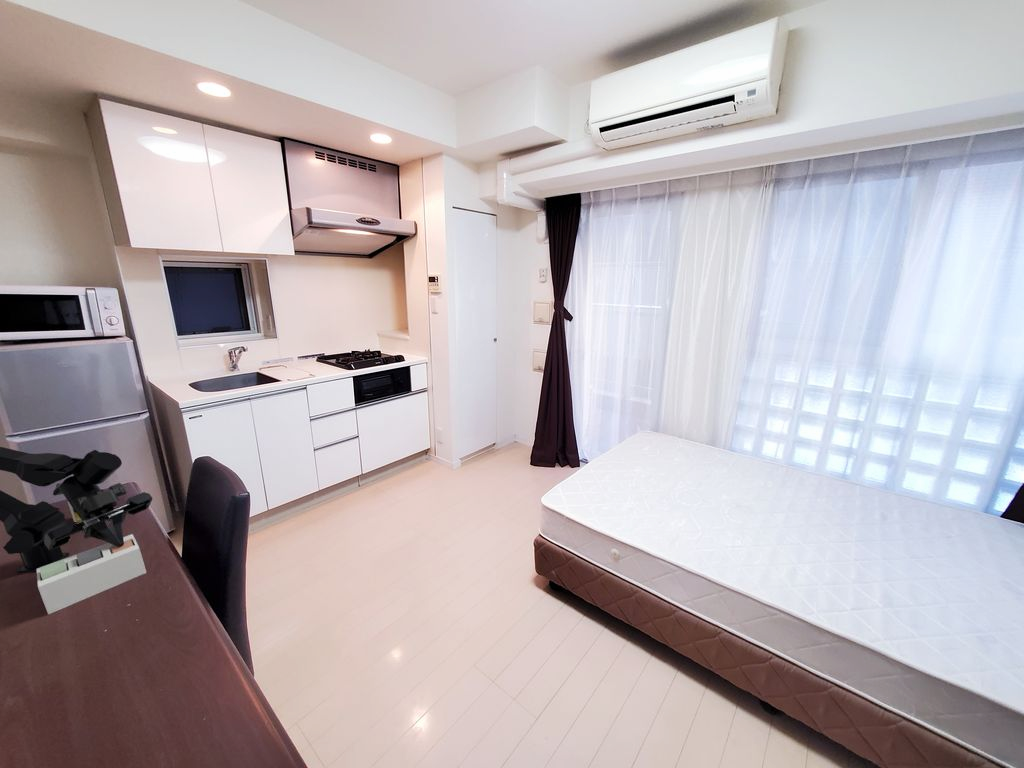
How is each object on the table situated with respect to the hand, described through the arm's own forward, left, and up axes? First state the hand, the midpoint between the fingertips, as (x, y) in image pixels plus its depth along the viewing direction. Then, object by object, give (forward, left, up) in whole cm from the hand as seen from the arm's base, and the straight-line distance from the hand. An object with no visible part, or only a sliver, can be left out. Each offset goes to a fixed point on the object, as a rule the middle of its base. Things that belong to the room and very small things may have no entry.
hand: (121, 545), depth 96 cm
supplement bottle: (-33, +24, -7) cm, 42 cm away
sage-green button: (-7, -8, -1) cm, 11 cm away
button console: (-4, -4, -7) cm, 9 cm away
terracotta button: (0, 0, -3) cm, 3 cm away
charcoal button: (-4, -4, -1) cm, 6 cm away
